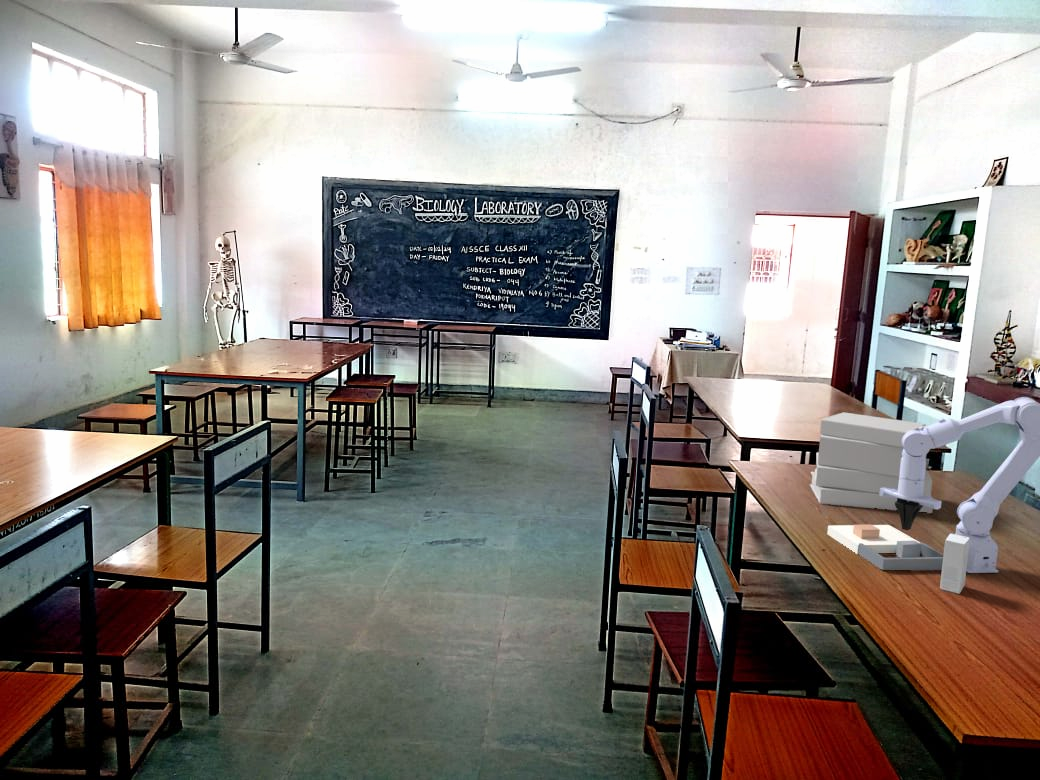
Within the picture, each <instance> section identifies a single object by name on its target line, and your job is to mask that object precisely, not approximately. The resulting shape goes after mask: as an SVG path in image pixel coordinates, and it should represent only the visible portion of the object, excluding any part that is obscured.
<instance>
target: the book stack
mask: <svg viewBox="0 0 1040 780" xmlns="http://www.w3.org/2000/svg"><path fill="white" fill-rule="evenodd" d="M921 426H923V428H924V427H927V424H926V423H922V422H915V421H907V420H901V419H893V418H888V417H886V418H885V417H877V416H871V415H865V414H857V413H851V412H844V411H842V412H840V413H837V414H833V415H831V416H830V415H829V416H827V417H823V418H822V419H821V421H820V431H819V434H820V438H819V448H818V452H816V468H814V471H810V474H811V483H809V486H810V489H811V490H812V493H813V494H814V496H815V498H816V499H818V500H817V501H818V503H819V504H821V505H829V504H830V506H840V505H841V506H842V507H851V506H852V507H854V508H865V509H874V508H877V509H876V510H885V509H887V510H889V511H896V510H897V508H896V506H895V502H897V499H895V498H891V497H887V496H880V488H883V487H885V488H890V489H896V490H898V484H899V474H900V464H901V458H902V452H903V449H905V448H904V447H903V446H902V443H901V439H902V438H903V436H904V435H905V433H907V432H908V431H911V430H918V431H920V430H919V427H921ZM932 486H933V478H932V476H931V475H930V474H929V472H928V470H927V469H926V470H925V479H924V488H923V495H924V496H927V497H930V498H933V499H935V498H934V496H932V488H933V487H932ZM887 510H886V511H887ZM933 510H934V509H933V508H932V507H928V506H924V505H923V507H922V508H921V510H920V511H919V512H927V513H926V514H930V513H932V514H933Z"/></svg>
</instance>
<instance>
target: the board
mask: <svg viewBox="0 0 1040 780" xmlns="http://www.w3.org/2000/svg"><path fill="white" fill-rule="evenodd" d="M854 525H855V524H853V525H849V524H848V525H847V524H845V525H843V524H841V525H840V524H839V525H838V524H837V525H835V524H834V525H828V526H827V533H826V534H827V535H828V536H830V537H831V538H832V539H833V540H835V541H837V542H838V543H839V544H841V545H842V544H843V545H842V546H844V547H845V546H846V548H847V549H848V548H849V549H848V550H850V551H851V550H852V552H853V553H854V552H855V553H854V554H856V555H858V548H859V543H862V544H864V545H865V546H867V547H868V548H870V549H872V550H873V551H875V552H876V553H896V546H897V541H917V542H918V543H920V541H918V540H917V539H914V538H913V537H911V536H909V535H908V534H906V533H904V532H902V531H900V530H899V529H897V528H895V527H894V526H892V525H890V524H872V525H873V526H875V527H876V528H878V529H880V533H879V539H861V538H859V537H857V536H856V535H854V534H853V527H854Z"/></svg>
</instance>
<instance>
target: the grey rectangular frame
mask: <svg viewBox="0 0 1040 780" xmlns="http://www.w3.org/2000/svg"><path fill="white" fill-rule="evenodd" d="M919 542H920V541H919ZM920 544H921V551H920V554H922V555H923V556H922V555H921V556H922V557H921V556H920V557H917V558H898V557H884V556H883V555H882V554H878V553H876V552H875V551H873V550H872V549H870V548H868V547H867V546H865V545H864V544H862V543H859V548H858V554H859V555H860V556H859V555H858V554H857V555H858V556H859V557H861V556H862V557H864V558H865V559H867V560H868V561H870V562H871V563H872V565H873V564H874V565H875V566H874V565H873V566H874V567H876V566H877V567H879V568H880V569H882V570H911V571H942V565H943V556H944V553H943V552H941V551H939V550H937V549H936V548H933V547H931V546H930V545H928V544H927V543H925V542H922V541H921V542H920ZM924 556H925V557H924ZM862 557H861V558H862ZM864 558H863V559H864ZM865 559H864V560H865ZM867 560H866V561H867ZM868 561H867V562H868ZM870 562H869V563H870ZM871 563H870V564H871ZM877 567H876V568H877ZM879 568H878V569H879ZM880 569H879V570H880ZM882 570H881V571H882Z"/></svg>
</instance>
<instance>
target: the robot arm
mask: <svg viewBox="0 0 1040 780" xmlns="http://www.w3.org/2000/svg"><path fill="white" fill-rule="evenodd" d="M996 423H998V424H999V423H1003V424H1008V425H1012V426H1014V425H1016V426H1017V427H1018V431H1019V434H1020V438H1021V441H1020V440H1019V441H1020V442H1019V443H1018V444H1017V445H1016V446H1015V447H1014V449H1013V450H1012V451H1011V453H1010V454H1009V455H1008V456H1007V458H1006V459H1005V460H1004V461H1003V462H1002V464H1000V465H999V467H998V468H997V470H996V471H995V472H994V473H993V475H992V476H991V477H989V480H988V481H987V482H986V483H985V485H983V487H982V488H981V489H980V490H979V491H978V492H975V493H973V495H972V496H970V497H969V498H968V499H967V500H965V501H963V502H961V503H960V504H959V506H958V507H957V509H956V514H957V516H958V518H959V519H960V521H959V522H958V524H956V528H955V534H956V535H960V536H965V537H969V538H970V543H969V551H968V559H967V568H966V573H969V574H982V573H983V574H987V573H988V574H989V573H990V574H992V573H994V574H995V573H996V574H997V573H999V570H998V569H997V561H998V560H997V559H998V554H999V546H998V544H997V542H996V541H995V540H993V538H992V537H991V530H992V528H993V523H994V520H995V518H996V517H997V515H998V513H999V510H1000V506H1001V504H1003V502H1004V500H1005V499H1006V498H1007V497H1008V496H1009V495H1010V493H1011V492H1012V491H1013V490H1014V488H1016V486H1017V485H1018V484H1019V482H1020V481H1021V480H1022V479H1023V478H1024V476H1025V475H1026V474H1027V473H1028V471H1029V470H1030V469H1031V468H1032V467H1033V466H1034V464H1035V463H1036V462H1037V460H1039V458H1040V403H1039V402H1037V401H1036V400H1035V399H1033V398H1032V397H1028V396H1021V397H1018V398H1015V399H1014V400H1012V399H1011V400H1006V401H1004V402H1002V403H999V404H996V405H993V406H991V407H989V408H986V409H984V410H981V411H978V412H976V413H974V414H971V415H969V416H967V417H964V418H961V419H959V420H955V419H952V418H947V419H945V418H944V417H942V418H939V419H938V422H935V423H933V424H932V423H931V424H930V425H926V426H924V427H923V426H921V427H919V430H920V431H918V430H911V431H908V432H907V433H905V435H904V436H903V438H902V439H901V443H902V446H903V447H904V448H905V449H903V452H902V458H901V464H900V474H899V484H898V490H896V489H890V488H885V487H883V488H880V496H887V497H891V498H895V499H897V502H895V506H896V508H897V510H898V511H897V512H898V515H899V518H900V525H901V530H904V531H910V530H911V529H912V525H913V524H914V521H915V519H916V517H917V516H918V514H919V513H918V512H919V511H920V510H921V508H922V507H923V505H924V506H928V507H932V508H933V510H940V509H941V508H942V500H938V499H936V498H934V497H933V498H934V499H933V498H930V497H927V496H924V495H923V488H924V479H925V470H926V471H927V469H926V468H927V454H928V453H929V451H930V450H931V449H938V448H940V447H943V446H946V445H948V444H952V443H954V442H957V441H960V440H961V438H962V436H963V435H964V433H968V432H971V431H974V430H978V429H980V428H984V427H987V426H990V425H994V424H996Z"/></svg>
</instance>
